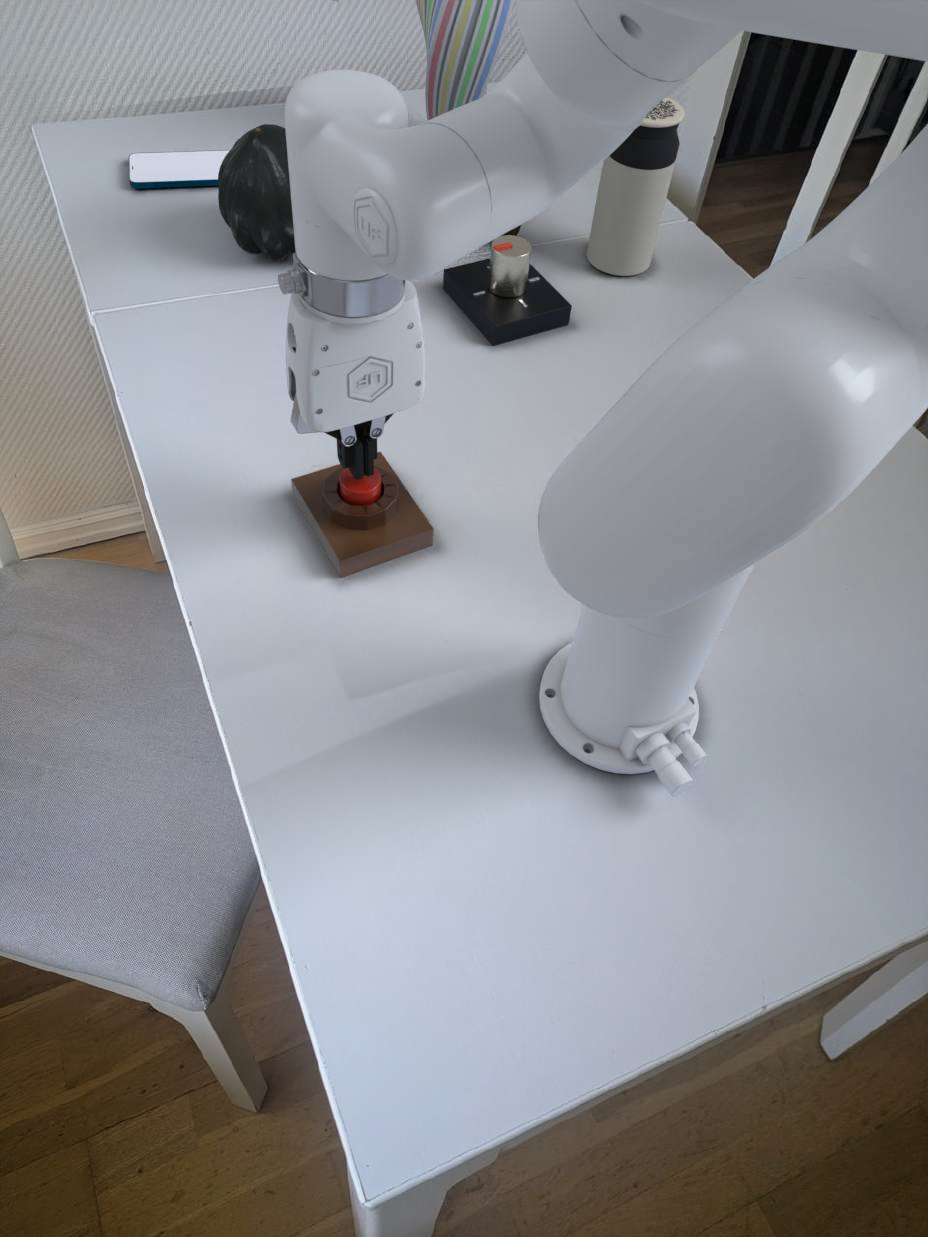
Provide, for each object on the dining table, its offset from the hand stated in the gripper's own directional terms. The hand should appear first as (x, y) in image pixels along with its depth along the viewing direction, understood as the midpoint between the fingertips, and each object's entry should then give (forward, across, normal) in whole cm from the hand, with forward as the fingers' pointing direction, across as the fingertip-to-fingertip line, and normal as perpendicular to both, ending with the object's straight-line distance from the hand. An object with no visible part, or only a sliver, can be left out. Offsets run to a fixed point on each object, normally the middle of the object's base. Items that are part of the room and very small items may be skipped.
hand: (357, 467), depth 78 cm
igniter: (+6, 0, 0) cm, 6 cm away
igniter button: (+3, 0, 0) cm, 3 cm away
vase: (+7, +42, +61) cm, 74 cm away
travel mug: (+7, +47, +27) cm, 55 cm away
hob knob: (+4, +29, +24) cm, 38 cm away
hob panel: (+6, +29, +24) cm, 38 cm away
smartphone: (+7, +6, +66) cm, 66 cm away
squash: (+7, +11, +46) cm, 48 cm away
